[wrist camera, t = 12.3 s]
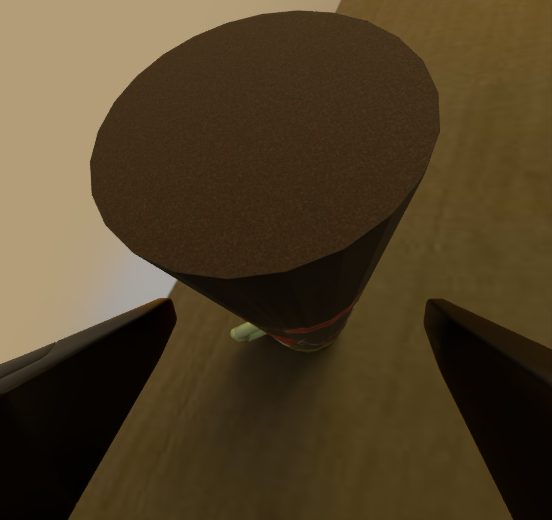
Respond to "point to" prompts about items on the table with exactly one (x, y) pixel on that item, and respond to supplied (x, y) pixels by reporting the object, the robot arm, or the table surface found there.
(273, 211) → the deodorant
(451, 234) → the table surface
